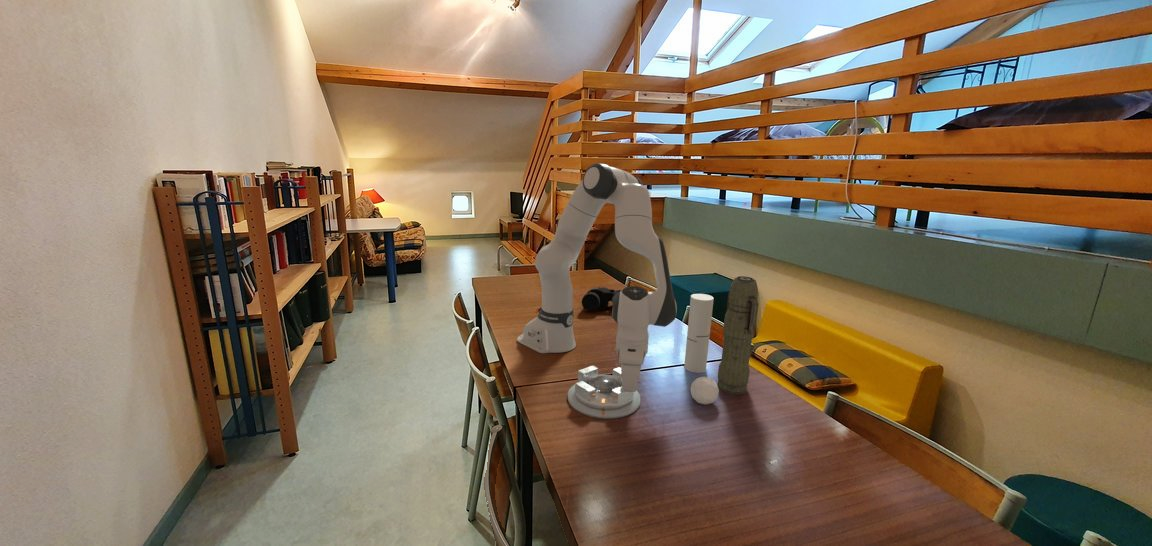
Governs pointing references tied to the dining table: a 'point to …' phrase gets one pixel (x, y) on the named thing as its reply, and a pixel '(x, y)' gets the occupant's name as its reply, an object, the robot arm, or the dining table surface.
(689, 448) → the dining table surface
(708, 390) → the geometric ball
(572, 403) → the cap plate
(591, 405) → the tabbed round base
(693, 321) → the cylindrical container
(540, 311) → the robot arm
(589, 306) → the binoculars
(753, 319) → the thermos
